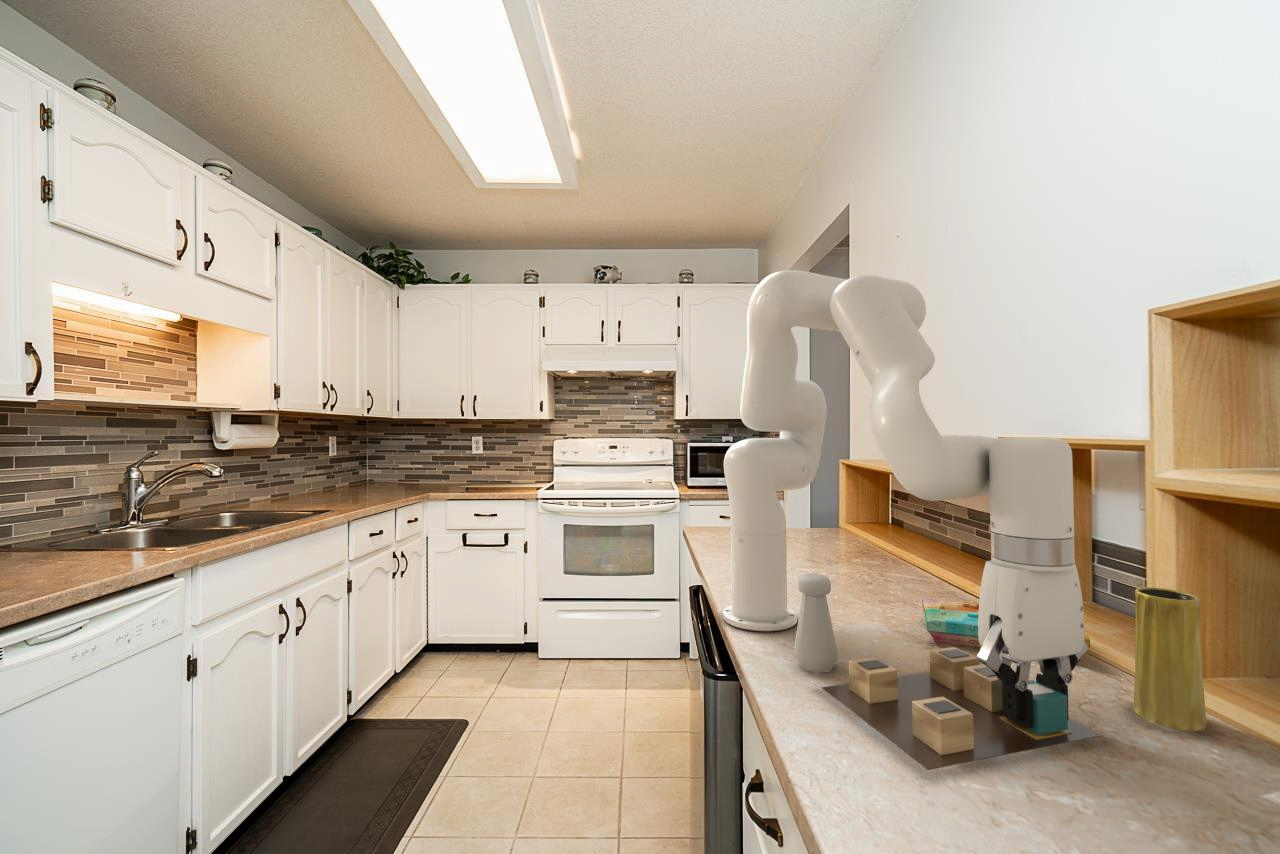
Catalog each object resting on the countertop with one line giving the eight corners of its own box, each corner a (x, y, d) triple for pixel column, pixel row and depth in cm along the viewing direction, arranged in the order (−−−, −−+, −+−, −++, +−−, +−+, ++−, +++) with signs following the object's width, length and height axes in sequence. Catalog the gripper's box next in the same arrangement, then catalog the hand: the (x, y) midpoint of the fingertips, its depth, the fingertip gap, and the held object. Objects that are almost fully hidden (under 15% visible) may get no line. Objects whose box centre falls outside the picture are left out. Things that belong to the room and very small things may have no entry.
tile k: (912, 735, 60) (911, 700, 60) (943, 729, 61) (943, 695, 61) (941, 755, 56) (940, 718, 56) (974, 749, 57) (973, 712, 57)
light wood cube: (849, 689, 71) (848, 659, 71) (876, 685, 72) (876, 656, 72) (869, 704, 67) (869, 672, 67) (898, 699, 68) (898, 668, 68)
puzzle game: (921, 594, 96) (1064, 607, 88) (922, 622, 96) (1065, 638, 88) (926, 615, 85) (1089, 632, 78) (927, 646, 85) (1090, 667, 78)
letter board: (821, 692, 71) (820, 686, 71) (964, 671, 77) (964, 666, 77) (927, 775, 54) (927, 768, 54) (1102, 741, 59) (1102, 734, 59)
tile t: (963, 696, 68) (963, 666, 68) (990, 692, 69) (989, 662, 69) (991, 712, 64) (991, 680, 64) (1019, 707, 65) (1019, 675, 65)
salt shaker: (840, 665, 79) (839, 572, 79) (835, 682, 74) (834, 582, 74) (797, 658, 82) (796, 568, 82) (790, 674, 76) (789, 578, 77)
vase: (1215, 742, 59) (1212, 604, 59) (1138, 726, 62) (1135, 596, 62) (1197, 716, 64) (1195, 590, 64) (1127, 703, 67) (1125, 583, 67)
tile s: (1004, 716, 63) (1004, 683, 63) (1033, 711, 64) (1032, 678, 64) (1038, 735, 59) (1037, 699, 59) (1068, 729, 60) (1067, 694, 60)
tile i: (929, 677, 74) (929, 649, 74) (954, 674, 75) (954, 645, 75) (953, 691, 70) (953, 661, 70) (980, 687, 71) (979, 657, 71)
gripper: (1058, 539, 67) (1061, 693, 67) (941, 548, 63) (944, 713, 63) (1126, 552, 60) (1130, 725, 60) (999, 563, 56) (1003, 749, 56)
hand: (1035, 717), depth 61 cm, fingers closed on tile s, 4 cm apart
